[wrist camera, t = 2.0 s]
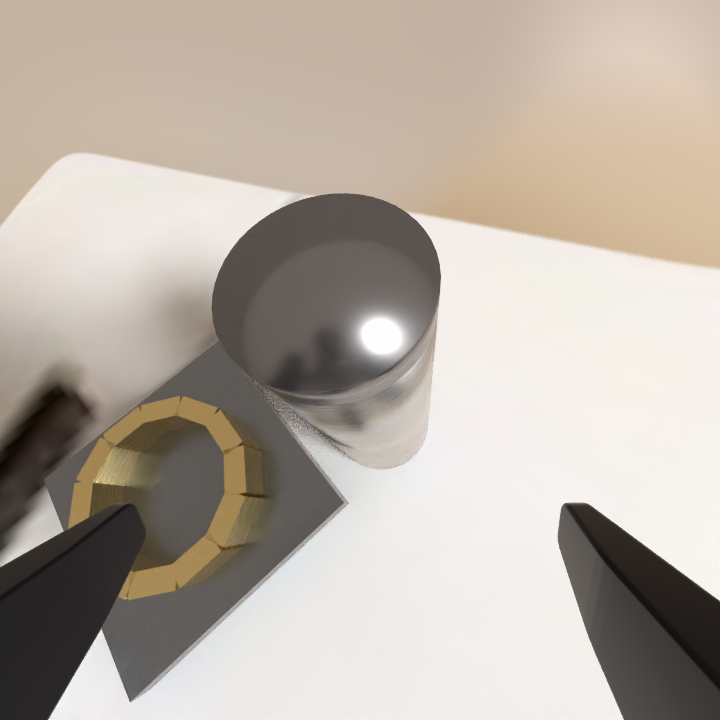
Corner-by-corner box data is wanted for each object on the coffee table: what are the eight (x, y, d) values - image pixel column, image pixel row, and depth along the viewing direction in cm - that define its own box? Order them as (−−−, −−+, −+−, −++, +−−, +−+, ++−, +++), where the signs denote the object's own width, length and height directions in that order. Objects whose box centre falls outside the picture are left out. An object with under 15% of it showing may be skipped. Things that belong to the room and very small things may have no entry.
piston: (377, 490, 18) (299, 446, 6) (318, 418, 20) (173, 284, 8) (447, 423, 19) (494, 275, 7) (384, 361, 21) (337, 163, 9)
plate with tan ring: (149, 689, 16) (90, 727, 13) (63, 481, 21) (6, 475, 18) (348, 503, 18) (335, 501, 15) (228, 349, 23) (200, 325, 20)
